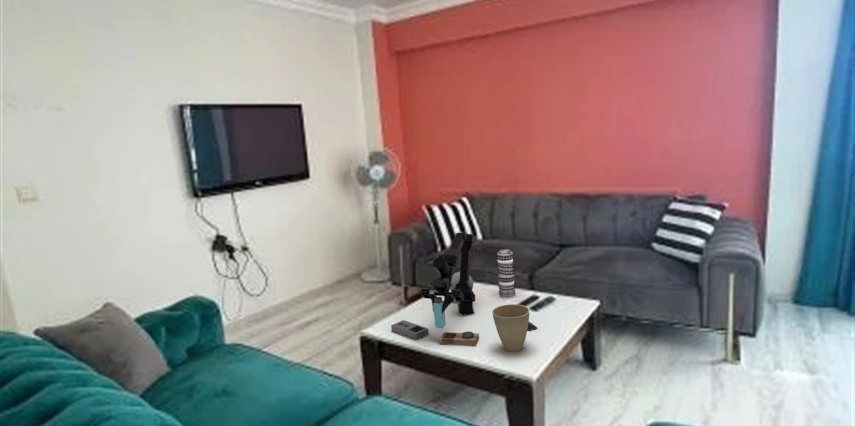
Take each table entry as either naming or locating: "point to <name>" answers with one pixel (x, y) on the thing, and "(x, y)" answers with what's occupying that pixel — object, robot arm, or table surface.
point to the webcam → (455, 281)
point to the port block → (410, 330)
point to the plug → (439, 313)
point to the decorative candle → (506, 274)
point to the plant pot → (511, 325)
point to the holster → (460, 338)
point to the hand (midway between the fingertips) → (437, 312)
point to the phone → (531, 327)
